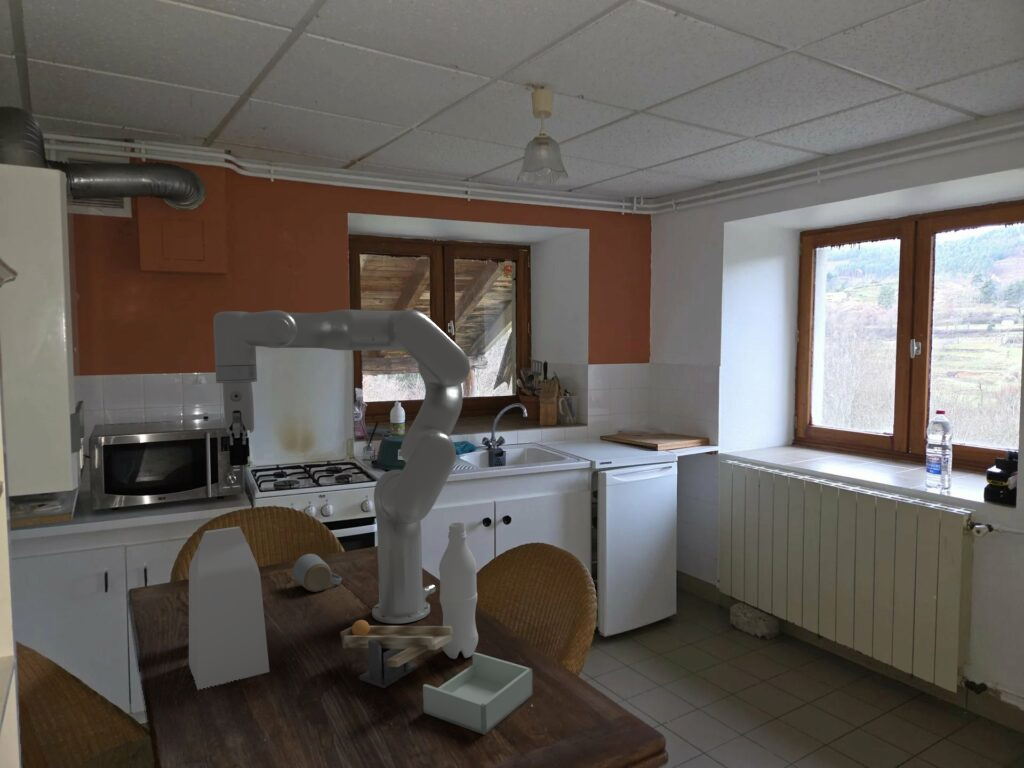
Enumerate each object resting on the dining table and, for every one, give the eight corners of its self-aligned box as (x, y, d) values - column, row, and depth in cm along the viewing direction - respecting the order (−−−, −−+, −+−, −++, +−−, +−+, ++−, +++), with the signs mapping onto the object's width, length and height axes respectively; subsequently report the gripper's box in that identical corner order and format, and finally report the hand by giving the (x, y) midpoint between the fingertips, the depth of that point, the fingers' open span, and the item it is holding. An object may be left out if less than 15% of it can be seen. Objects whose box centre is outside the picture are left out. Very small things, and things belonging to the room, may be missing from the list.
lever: (314, 662, 122) (311, 645, 122) (365, 637, 132) (362, 621, 132) (406, 667, 110) (402, 648, 110) (454, 638, 120) (451, 621, 120)
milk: (197, 690, 120) (191, 542, 119) (188, 664, 130) (182, 527, 128) (269, 671, 127) (264, 531, 125) (255, 648, 136) (250, 518, 135)
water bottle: (461, 641, 138) (459, 517, 136) (486, 653, 133) (483, 524, 131) (433, 653, 133) (430, 524, 131) (457, 665, 128) (454, 532, 126)
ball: (365, 636, 131) (358, 620, 131) (375, 631, 129) (369, 615, 130) (352, 642, 128) (345, 626, 129) (363, 638, 126) (356, 621, 127)
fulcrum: (359, 679, 123) (358, 639, 123) (394, 659, 131) (393, 622, 130) (384, 688, 120) (383, 647, 120) (418, 667, 127) (417, 629, 127)
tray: (475, 676, 124) (474, 652, 123) (532, 694, 117) (532, 668, 117) (423, 712, 112) (423, 685, 112) (484, 734, 105) (483, 706, 105)
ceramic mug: (304, 596, 164) (304, 564, 164) (292, 587, 171) (292, 556, 170) (347, 587, 170) (346, 556, 170) (334, 578, 177) (333, 548, 176)
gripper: (255, 376, 129) (259, 467, 130) (257, 372, 146) (261, 453, 147) (212, 377, 127) (216, 470, 128) (218, 373, 143) (222, 455, 144)
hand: (240, 461), depth 137 cm, fingers open, 9 cm apart
